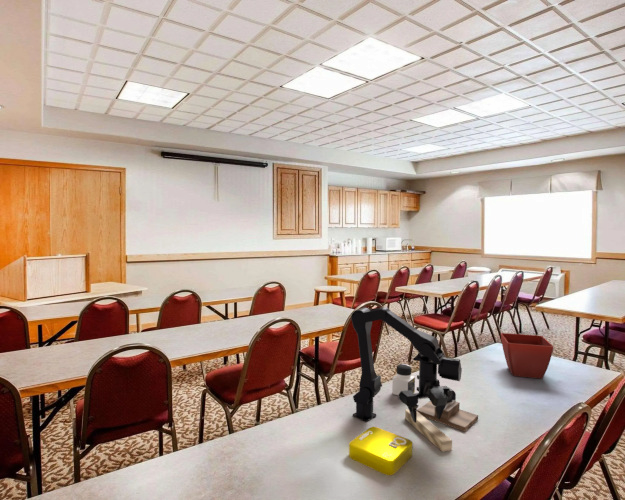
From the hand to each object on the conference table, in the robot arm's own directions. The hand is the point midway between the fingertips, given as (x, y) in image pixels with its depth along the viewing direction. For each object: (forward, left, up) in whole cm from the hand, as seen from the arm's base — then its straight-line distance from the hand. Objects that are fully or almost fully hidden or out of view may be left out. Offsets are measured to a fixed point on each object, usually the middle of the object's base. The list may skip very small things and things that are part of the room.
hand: (426, 420), depth 129 cm
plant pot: (+86, -8, -4) cm, 86 cm away
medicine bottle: (+23, +22, -4) cm, 32 cm away
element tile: (-22, +4, -5) cm, 23 cm away
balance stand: (+16, 0, -4) cm, 17 cm away
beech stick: (0, 0, -5) cm, 5 cm away
